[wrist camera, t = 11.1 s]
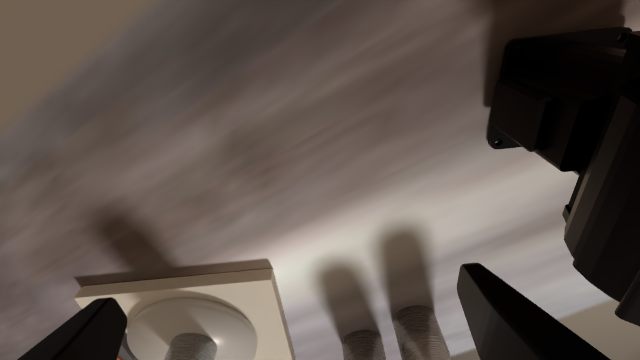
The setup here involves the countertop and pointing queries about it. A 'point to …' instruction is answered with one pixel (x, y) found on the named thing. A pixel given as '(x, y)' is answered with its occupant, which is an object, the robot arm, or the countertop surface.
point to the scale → (201, 314)
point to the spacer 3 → (419, 335)
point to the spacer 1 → (191, 347)
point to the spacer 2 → (363, 346)
